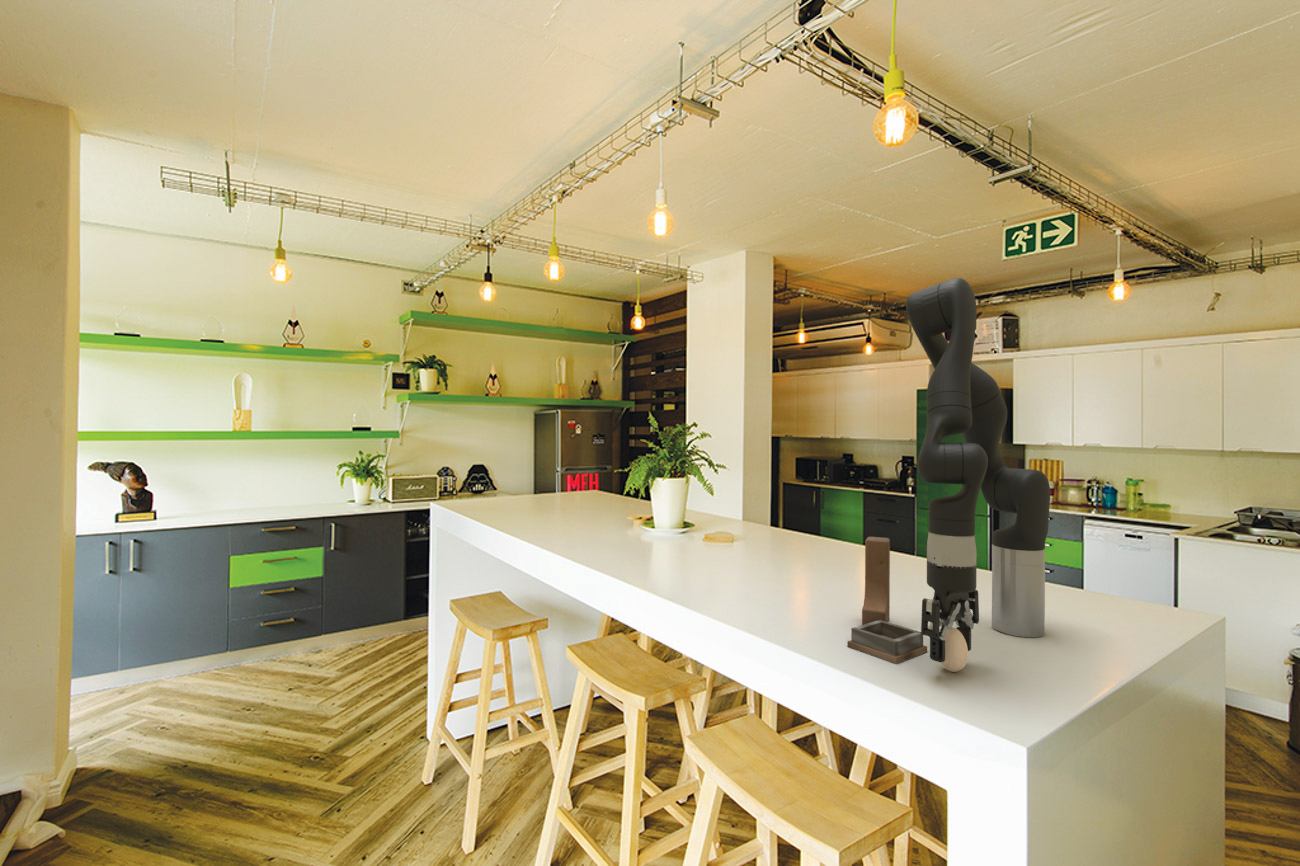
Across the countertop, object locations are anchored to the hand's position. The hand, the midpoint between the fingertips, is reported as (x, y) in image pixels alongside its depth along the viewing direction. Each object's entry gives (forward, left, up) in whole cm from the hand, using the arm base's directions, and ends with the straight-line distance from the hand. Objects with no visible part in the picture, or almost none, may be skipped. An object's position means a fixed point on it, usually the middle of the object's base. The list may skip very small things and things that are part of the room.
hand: (950, 655), depth 99 cm
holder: (0, -12, -3) cm, 12 cm away
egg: (0, 0, -3) cm, 3 cm away
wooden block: (-10, -21, -3) cm, 23 cm away
